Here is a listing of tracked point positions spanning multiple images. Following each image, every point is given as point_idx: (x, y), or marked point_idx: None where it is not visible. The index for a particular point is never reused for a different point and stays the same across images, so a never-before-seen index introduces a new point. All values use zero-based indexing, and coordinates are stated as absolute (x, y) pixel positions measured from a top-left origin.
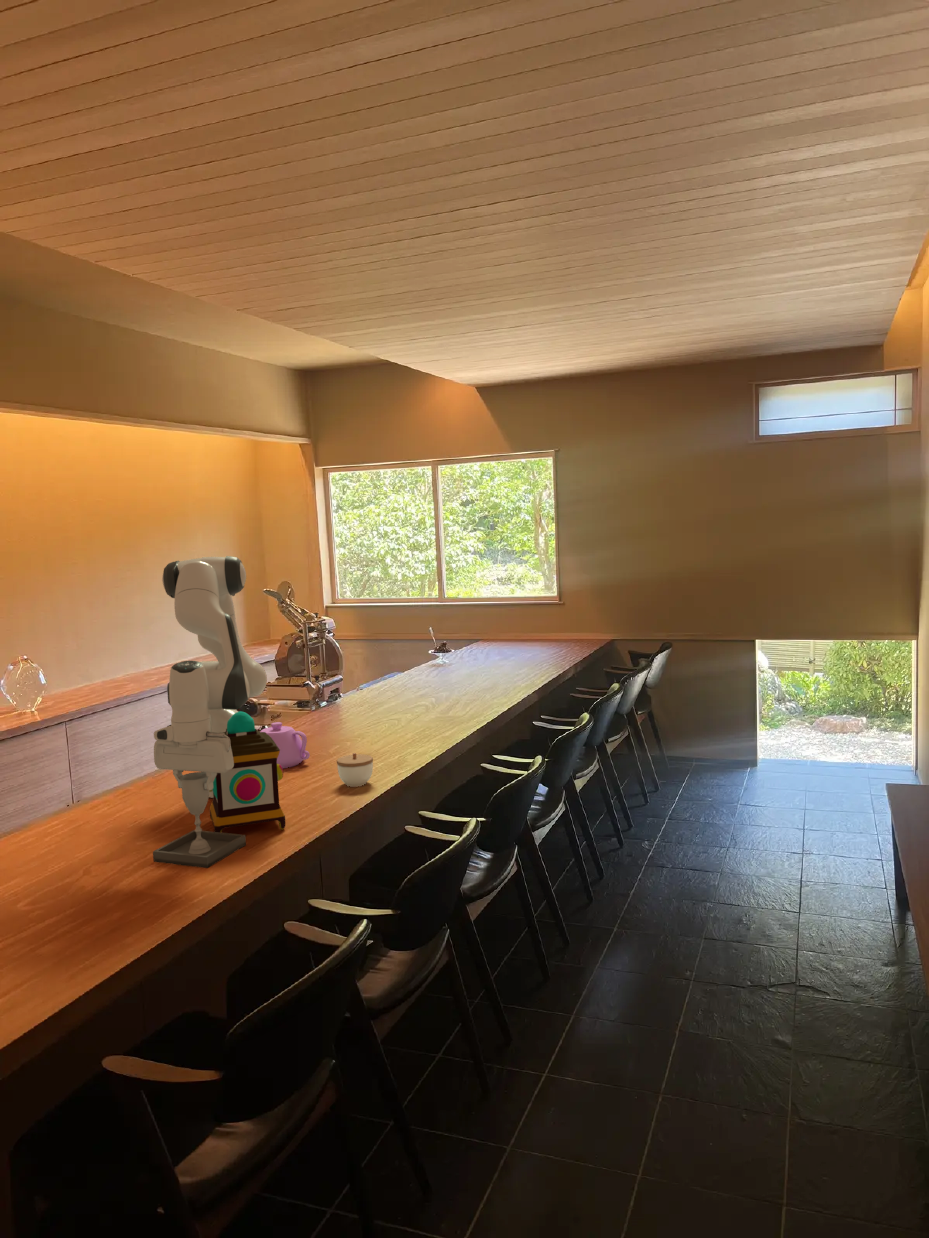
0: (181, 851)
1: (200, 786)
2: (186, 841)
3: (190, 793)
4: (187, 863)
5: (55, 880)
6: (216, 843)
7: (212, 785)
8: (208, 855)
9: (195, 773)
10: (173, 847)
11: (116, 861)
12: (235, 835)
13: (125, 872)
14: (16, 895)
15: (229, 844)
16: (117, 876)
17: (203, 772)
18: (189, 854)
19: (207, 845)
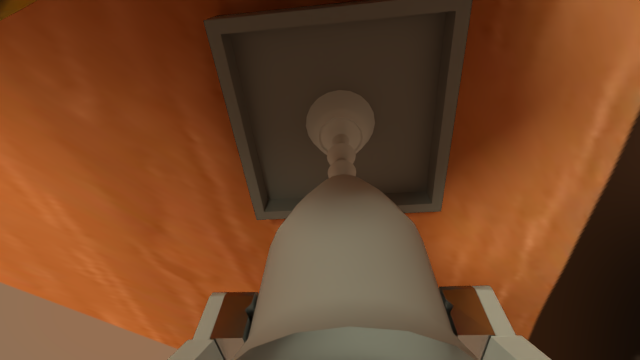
0: (292, 149)
1: (428, 357)
2: (240, 83)
3: (371, 344)
4: None
5: (170, 305)
6: (352, 51)
7: (497, 310)
8: (438, 200)
9: (259, 342)
10: (253, 146)
11: (175, 222)
12: (428, 13)
13: (257, 256)
14: (180, 345)
15: (455, 107)
16: (260, 271)
17: (337, 326)
18: None
19: (368, 122)
